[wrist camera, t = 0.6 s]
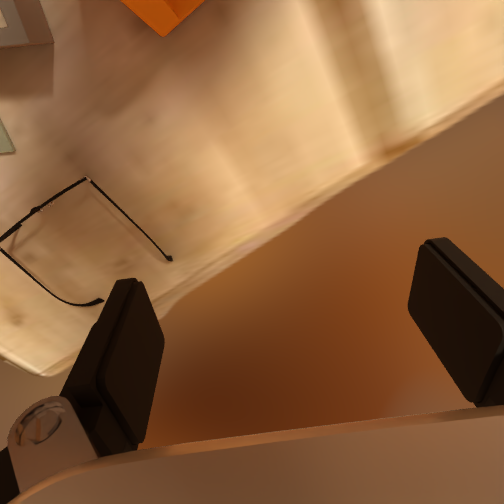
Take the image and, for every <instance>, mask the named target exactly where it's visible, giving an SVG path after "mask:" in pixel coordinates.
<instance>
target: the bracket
mask: <svg viewBox="0 0 504 504" xmlns="http://www.w3.org/2000/svg"><path fill="white" fill-rule="evenodd" d="M120 1H121V2H123V3H124V4H125V5H126V6H127V7H128V8H129V9H131V10H132V11H133V12H134V13H135V14H136V15H137V16H139V17H140V18H141V19H142V20H143V21H144V22H145V23H146V24H148V25H149V26H150V27H151V28H152V29H153V30H154V31H156V32H157V33H158V34H159V35H160V36H162V37H165V36H166V35H167V34H168V33H169V32H170V31H172V30H173V29H174V28H175V27H176V26H177V25H178V24H179V23H180V22H182V21H183V20H184V19H185V18H186V17H187V16H188V15H189V14H190V13H192V12H193V11H194V10H195V9H196V8H197V7H198V6H199V5H200V4H202V3H203V2H204V1H205V0H120Z"/></svg>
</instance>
